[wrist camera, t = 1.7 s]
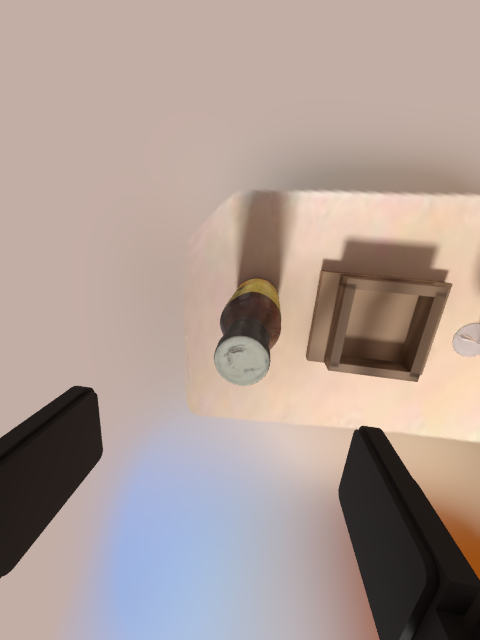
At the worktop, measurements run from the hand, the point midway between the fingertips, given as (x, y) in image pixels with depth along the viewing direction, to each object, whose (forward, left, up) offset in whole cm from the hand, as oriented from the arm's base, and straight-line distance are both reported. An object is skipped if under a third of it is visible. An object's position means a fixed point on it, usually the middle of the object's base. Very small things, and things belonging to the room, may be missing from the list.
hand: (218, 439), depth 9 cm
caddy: (-16, +2, -28) cm, 32 cm away
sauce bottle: (0, +1, -28) cm, 28 cm away
